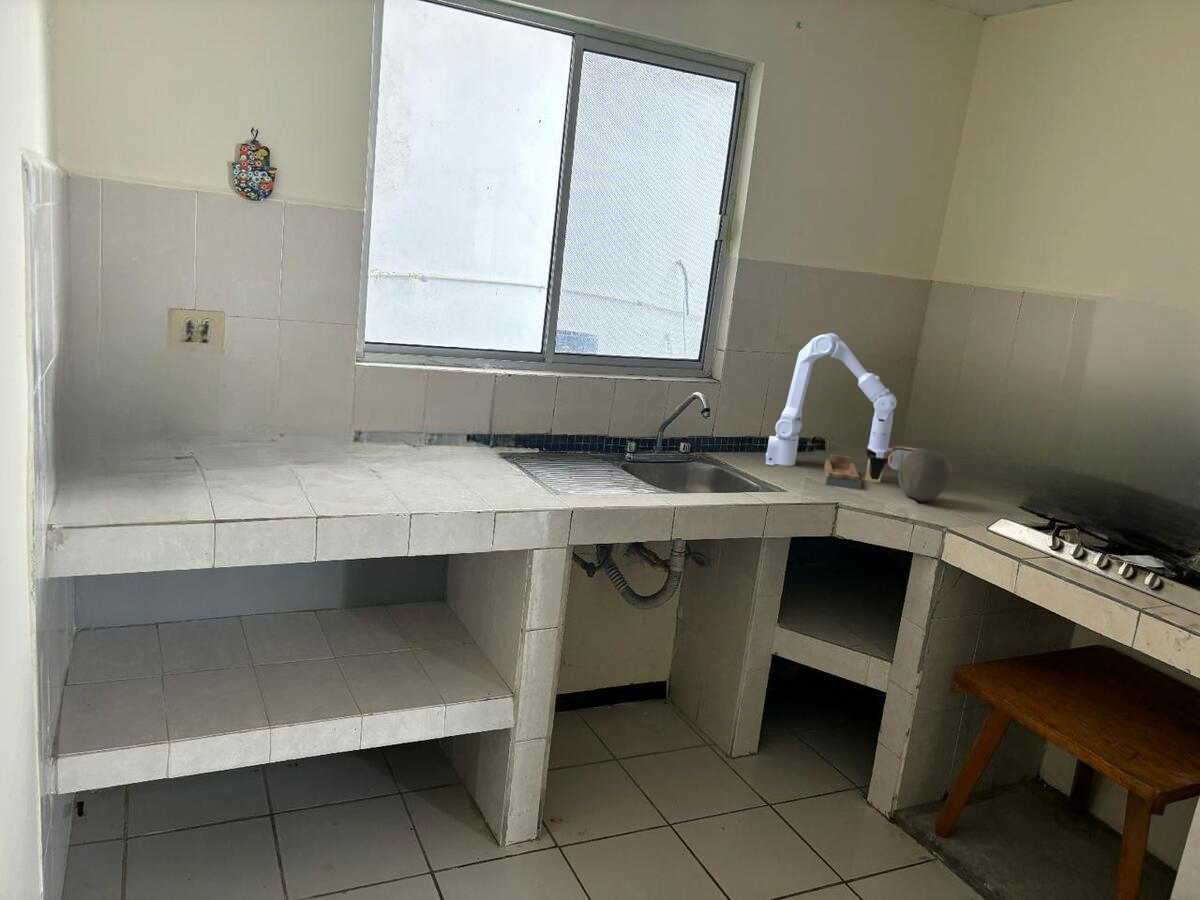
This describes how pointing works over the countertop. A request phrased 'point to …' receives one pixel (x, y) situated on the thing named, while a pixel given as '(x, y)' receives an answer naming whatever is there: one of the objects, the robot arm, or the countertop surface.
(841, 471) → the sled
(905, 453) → the tin
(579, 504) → the countertop surface
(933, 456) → the cantaloupe
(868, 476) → the block
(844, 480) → the track
